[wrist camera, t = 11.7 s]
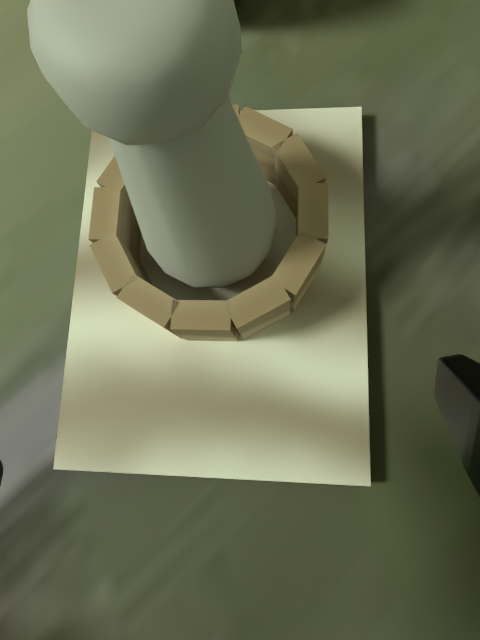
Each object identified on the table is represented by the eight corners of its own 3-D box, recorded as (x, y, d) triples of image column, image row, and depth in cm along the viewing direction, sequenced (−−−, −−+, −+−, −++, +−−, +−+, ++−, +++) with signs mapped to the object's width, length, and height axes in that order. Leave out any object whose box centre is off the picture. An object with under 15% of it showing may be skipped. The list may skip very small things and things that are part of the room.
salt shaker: (224, 325, 20) (118, 180, 7) (136, 253, 21) (-95, 15, 8) (303, 232, 20) (339, -64, 7) (213, 166, 21) (110, -187, 9)
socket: (366, 482, 18) (388, 502, 15) (62, 466, 20) (11, 481, 16) (358, 117, 22) (374, 58, 18) (100, 126, 23) (65, 73, 20)
